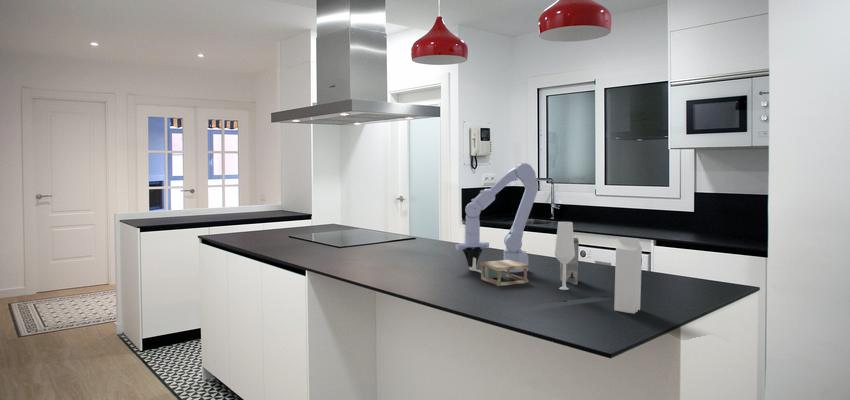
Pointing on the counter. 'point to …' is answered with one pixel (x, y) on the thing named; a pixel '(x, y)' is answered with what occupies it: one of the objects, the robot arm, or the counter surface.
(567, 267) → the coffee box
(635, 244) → the milk
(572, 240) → the champagne flute
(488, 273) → the block
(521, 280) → the shelf
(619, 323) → the counter surface
